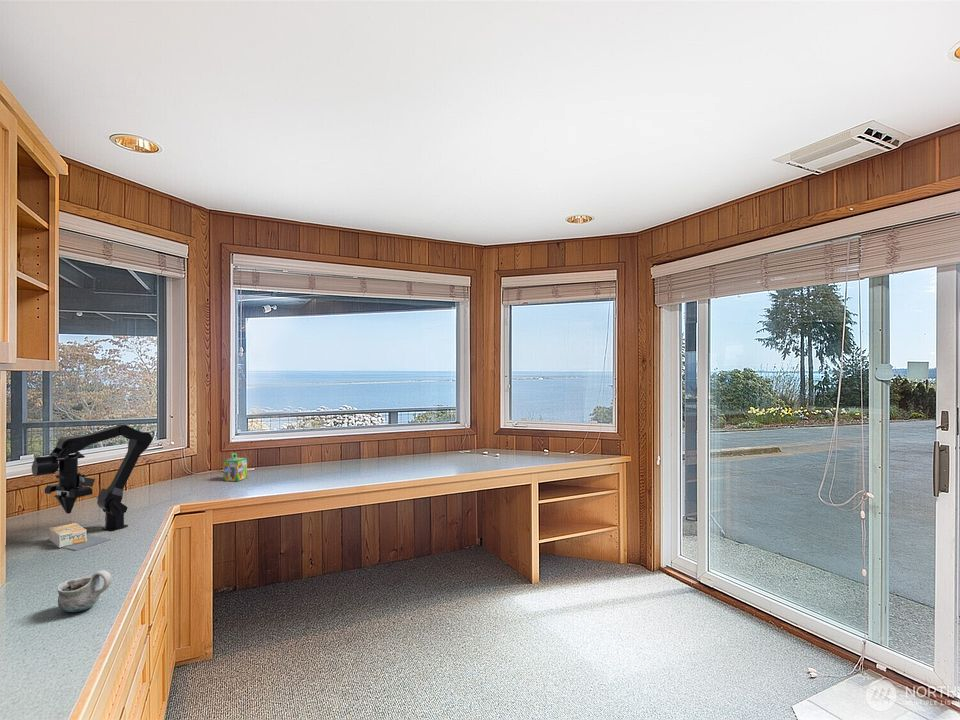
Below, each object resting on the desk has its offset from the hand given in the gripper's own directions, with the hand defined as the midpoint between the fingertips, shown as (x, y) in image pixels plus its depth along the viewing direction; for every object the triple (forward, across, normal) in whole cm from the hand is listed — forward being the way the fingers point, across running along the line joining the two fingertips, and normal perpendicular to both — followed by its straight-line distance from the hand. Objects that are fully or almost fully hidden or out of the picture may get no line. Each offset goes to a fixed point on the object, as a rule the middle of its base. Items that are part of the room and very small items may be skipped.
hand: (68, 513), depth 201 cm
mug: (+10, -65, +34) cm, 74 cm away
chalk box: (+10, +21, -97) cm, 100 cm away
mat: (+10, -8, +1) cm, 12 cm away
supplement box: (+7, +3, 0) cm, 7 cm away
